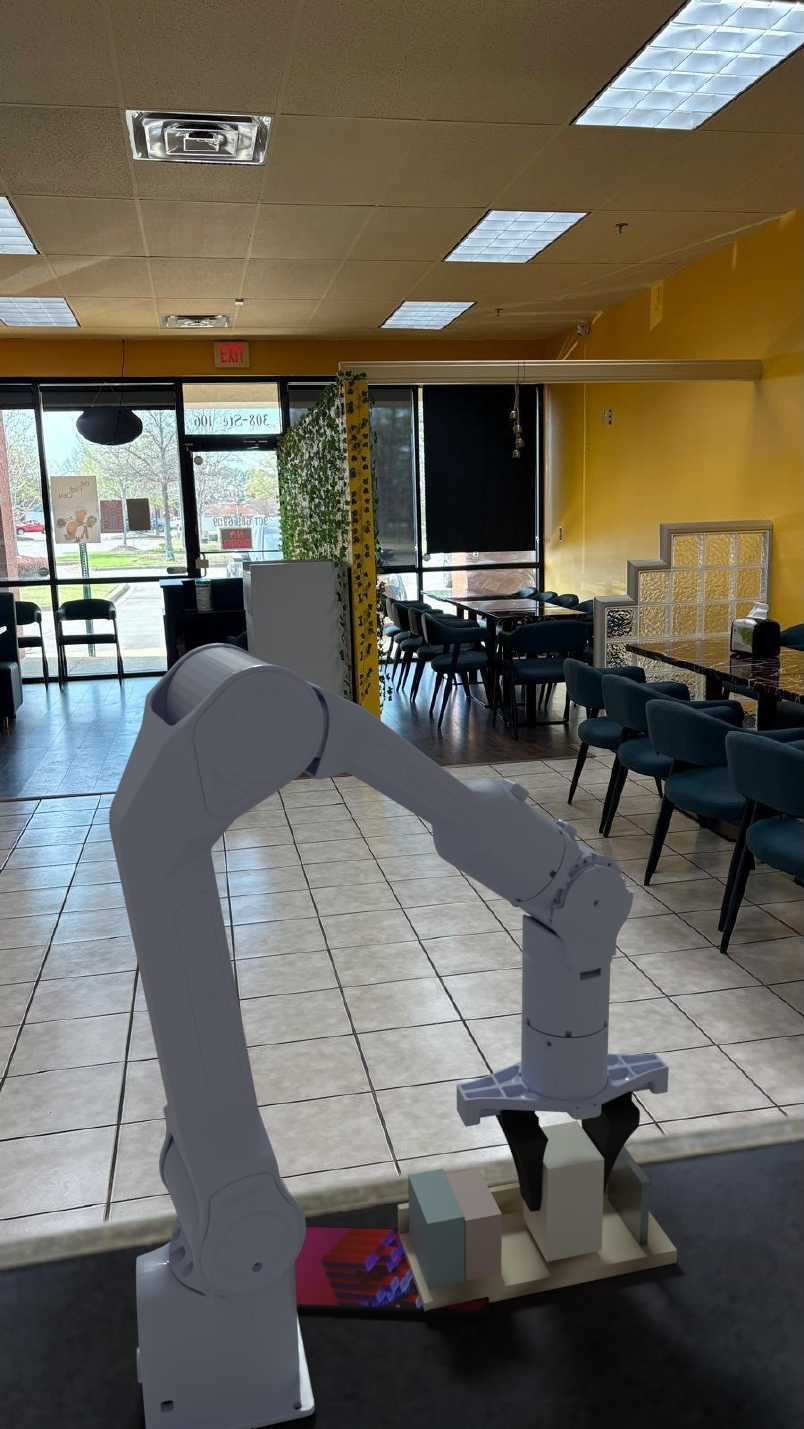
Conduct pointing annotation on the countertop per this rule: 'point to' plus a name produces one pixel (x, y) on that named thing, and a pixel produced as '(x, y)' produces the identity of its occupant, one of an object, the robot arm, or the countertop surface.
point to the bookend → (630, 1195)
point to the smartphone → (364, 1276)
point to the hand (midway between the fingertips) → (561, 1195)
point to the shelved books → (454, 1227)
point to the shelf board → (527, 1263)
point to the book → (569, 1195)
